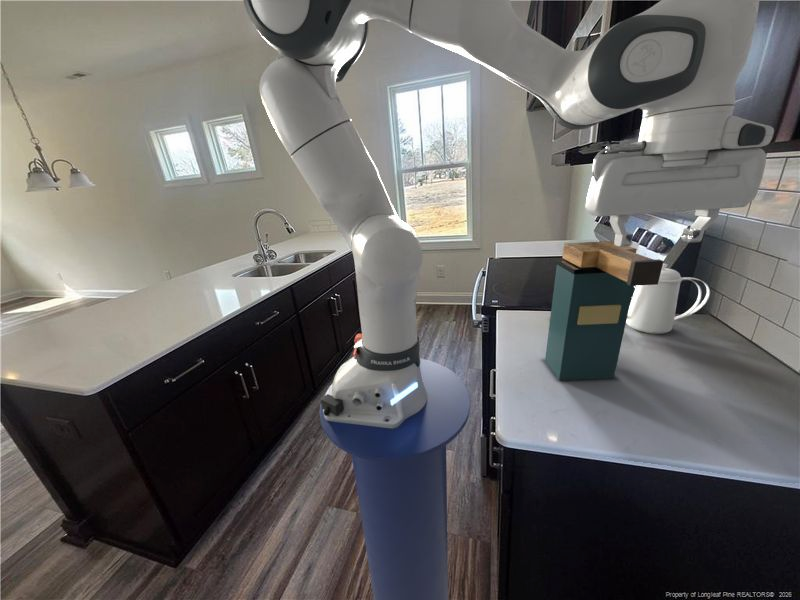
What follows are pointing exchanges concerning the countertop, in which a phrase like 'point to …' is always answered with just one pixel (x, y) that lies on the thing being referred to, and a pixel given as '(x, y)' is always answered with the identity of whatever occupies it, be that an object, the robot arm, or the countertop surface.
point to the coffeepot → (660, 303)
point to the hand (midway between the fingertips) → (656, 243)
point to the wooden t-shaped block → (615, 261)
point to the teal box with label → (586, 322)
